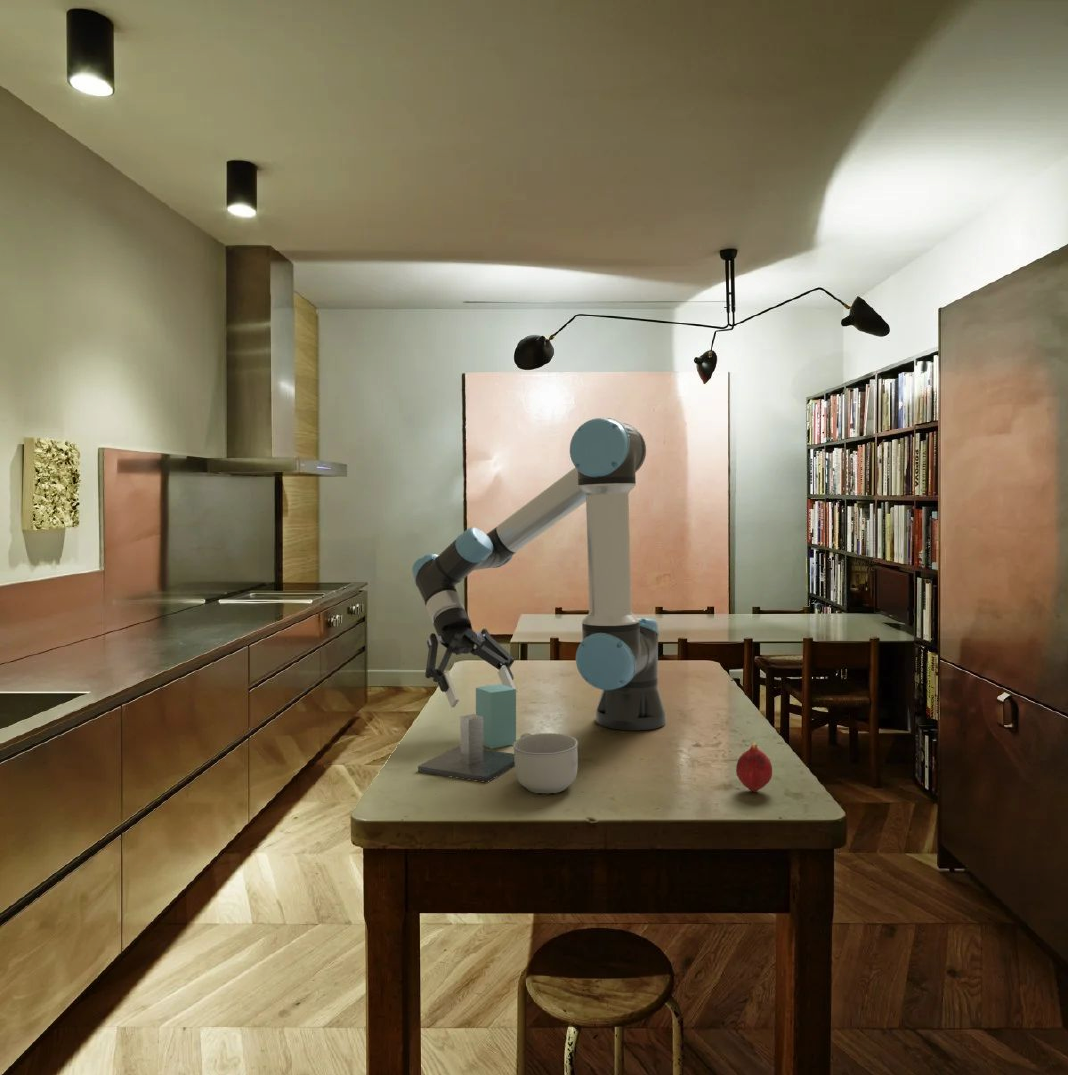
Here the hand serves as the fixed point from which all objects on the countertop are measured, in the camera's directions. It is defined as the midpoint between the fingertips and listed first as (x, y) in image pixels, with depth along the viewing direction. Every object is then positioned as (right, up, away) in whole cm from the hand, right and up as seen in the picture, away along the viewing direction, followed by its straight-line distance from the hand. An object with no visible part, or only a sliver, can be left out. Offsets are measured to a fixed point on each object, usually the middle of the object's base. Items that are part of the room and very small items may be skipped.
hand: (485, 699), depth 169 cm
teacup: (+11, -10, -27) cm, 31 cm away
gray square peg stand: (-1, -9, -17) cm, 19 cm away
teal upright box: (+2, -8, -2) cm, 9 cm away
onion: (+46, -10, -30) cm, 56 cm away
